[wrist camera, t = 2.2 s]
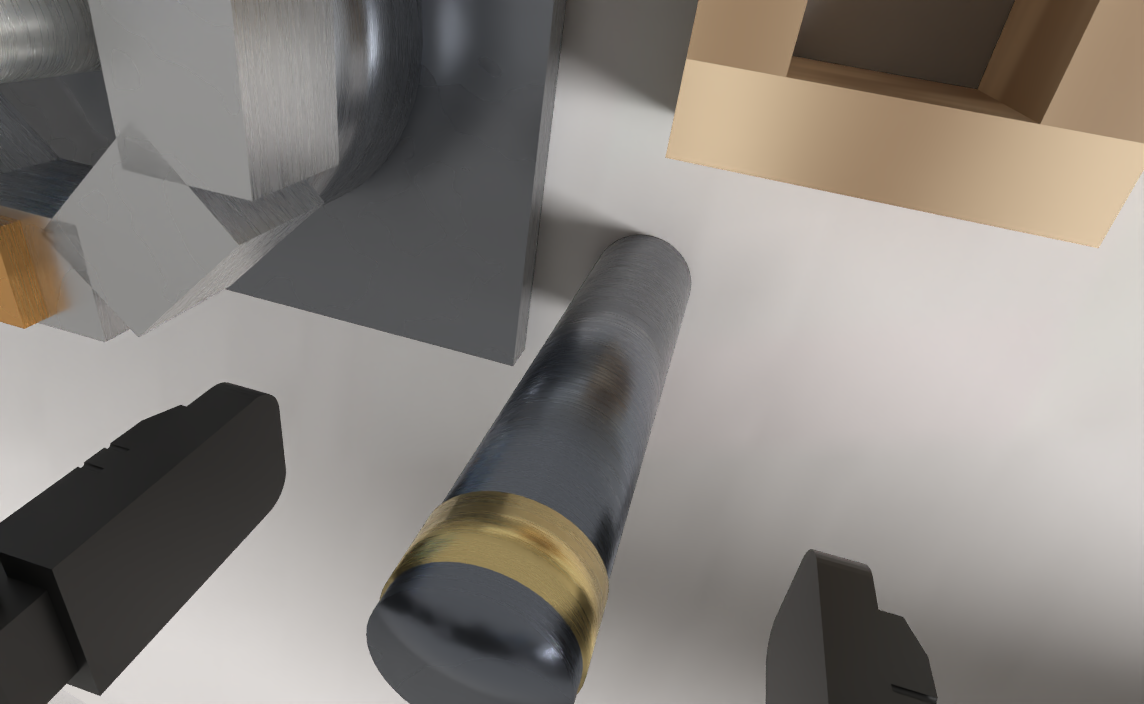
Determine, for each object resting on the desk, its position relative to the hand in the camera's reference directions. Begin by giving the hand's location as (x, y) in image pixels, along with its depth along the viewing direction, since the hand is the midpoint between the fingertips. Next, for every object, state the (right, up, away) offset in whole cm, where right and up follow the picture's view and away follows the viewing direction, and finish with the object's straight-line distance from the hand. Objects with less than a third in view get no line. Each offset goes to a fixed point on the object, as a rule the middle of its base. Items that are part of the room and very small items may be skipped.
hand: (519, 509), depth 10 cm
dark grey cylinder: (+3, +4, +8) cm, 10 cm away
